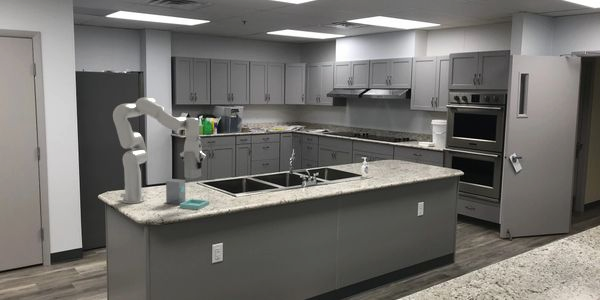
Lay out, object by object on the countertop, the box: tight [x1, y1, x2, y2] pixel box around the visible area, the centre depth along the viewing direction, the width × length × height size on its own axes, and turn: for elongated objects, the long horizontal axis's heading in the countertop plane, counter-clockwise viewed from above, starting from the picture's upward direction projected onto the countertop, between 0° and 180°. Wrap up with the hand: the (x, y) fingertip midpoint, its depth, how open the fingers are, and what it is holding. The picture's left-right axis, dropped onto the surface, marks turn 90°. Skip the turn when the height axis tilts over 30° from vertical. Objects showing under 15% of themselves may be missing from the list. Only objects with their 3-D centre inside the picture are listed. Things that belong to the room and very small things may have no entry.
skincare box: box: [183, 152, 202, 180], centre depth 287 cm, size 8×7×16 cm
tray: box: [179, 198, 210, 210], centre depth 291 cm, size 12×13×2 cm
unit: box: [163, 178, 186, 206], centre depth 296 cm, size 11×9×14 cm
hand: (192, 168), depth 287 cm, fingers closed on skincare box, 8 cm apart
